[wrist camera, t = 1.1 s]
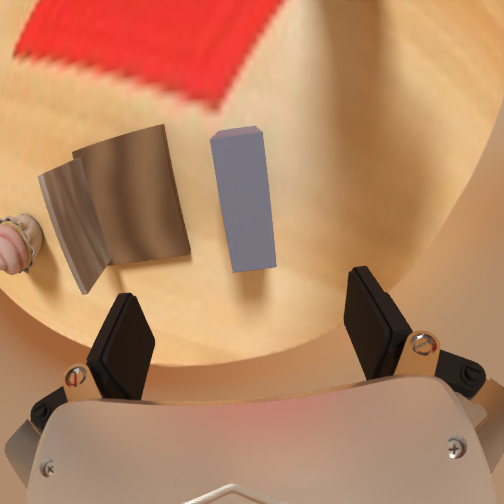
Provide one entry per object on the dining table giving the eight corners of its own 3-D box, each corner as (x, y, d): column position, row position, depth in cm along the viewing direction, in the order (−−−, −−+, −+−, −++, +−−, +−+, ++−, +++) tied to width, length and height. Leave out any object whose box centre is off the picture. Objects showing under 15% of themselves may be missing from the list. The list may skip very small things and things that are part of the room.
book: (255, 125, 28) (262, 132, 20) (266, 223, 34) (276, 267, 25) (219, 130, 28) (210, 139, 20) (234, 228, 34) (233, 272, 26)
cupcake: (57, 227, 33) (19, 262, 24) (43, 267, 36) (11, 304, 27) (18, 192, 29) (-24, 218, 21) (7, 235, 32) (-28, 266, 24)
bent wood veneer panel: (164, 124, 28) (134, 130, 19) (190, 249, 35) (177, 294, 27) (78, 149, 28) (32, 167, 19) (111, 260, 36) (83, 301, 27)
